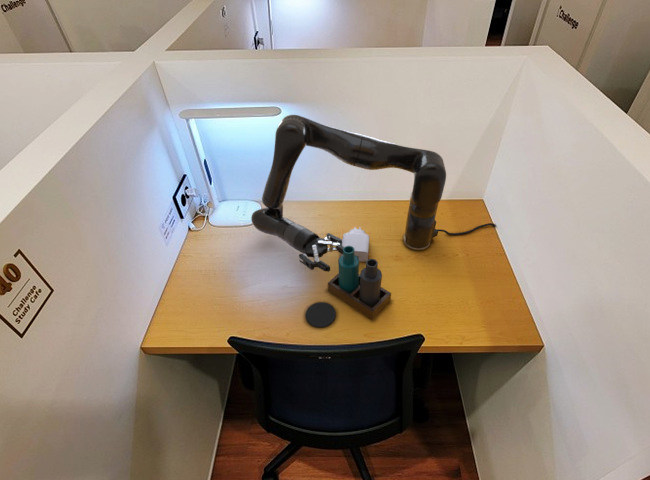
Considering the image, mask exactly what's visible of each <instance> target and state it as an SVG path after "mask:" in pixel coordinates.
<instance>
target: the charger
mask: <svg viewBox="0 0 650 480" xmlns="http://www.w3.org/2000/svg"><path fill="white" fill-rule="evenodd" d="M361 228H362V227H360V226H359V228H357V227H356V226H354V228H352V229H350V230H349V231H348V232H344V233H343V235H342V238H341V239H342V246H343V247H346V246H352V247H353V248H354V255H355V256H357V257H358V258H359V262H360V263H361V262H362V263H366V261H367V260H369V250H370V235H369V234H368V233H366V231H365V230H363V229H361ZM342 255H343V254H341V253H340V257H341V256H342Z"/></svg>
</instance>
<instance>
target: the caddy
mask: <svg viewBox="0 0 650 480" xmlns="http://www.w3.org/2000/svg"><path fill="white" fill-rule="evenodd" d="M327 291H328V292H329V293H330V294H332V295H333V296H335V297H336V298H338V299H339V300H341V301H342V302H344V303H345V304H347V305H348V306H350V307H351V308H353V309H354V310H356V311H357V312H359V313H360V314H362V315H364V316H365V317H366V318H368V319H370V320H371V321H373V320H374V319H375V318H376V317H377V315H379V314H380V312H381V311H383V309H385V307H387V305H388V304H389V303H390V302H391V297H392V292H390V291H388V290H387V289H385V288H384V287H382V286H381V290H380V300H379V302H378V303H377V304H376V305H375V306H374V307H373V308H371V307H369V306H368V305H366V304H365V303H363V302H362V301H360V300H359V295H360V273H359V283H358V287H357V288H356V289H355V290H354V291H353V292H352V293H351V294H349V293H348V292H346V291H345V290H343V289H342V288H340V287H339V272H338V273H337V274H336V275H335V276H334V277H333V278H331V279H330V280H329V281H328V282H327Z"/></svg>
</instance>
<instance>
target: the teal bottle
mask: <svg viewBox="0 0 650 480" xmlns="http://www.w3.org/2000/svg"><path fill="white" fill-rule="evenodd" d="M337 263H338V268H337V269H338V273H339V285H338V287H340V288H342V289H343V290H345V291H346V292H348V293H349V294H351V293H352V292H353V291H354V290H355V289H356V288H357V287H358V286H359V285H358V283H359V274H360V261H359V258H358V257H357V256H355V255H354V248H353V247H352V246H346V247H344V248H343V255H342V256H341V255H340V256H339V258H338V262H337Z"/></svg>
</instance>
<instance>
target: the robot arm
mask: <svg viewBox="0 0 650 480" xmlns="http://www.w3.org/2000/svg"><path fill="white" fill-rule="evenodd" d="M274 136H275V137H274V150H273V158H272V164H271V167H270V171H269V173H268V176H267V179H266V182H265V185H264V189H263V193H262V196H261V202H262V204H263V205H264V206H265V207H263V208H259V209H257V210H255V211H254V212H253V213H251V218H250V220H251V224H252V225H253V227H254V228H255V229H256V230H258V231H259V232H261V233H264V234H267V235H269V236H274V237H277V238H279V239H280V240H282V241H284V242H285V243H286V244H288V245H289V246H290V247H292V248H293V249H295V250H296V251H298V252H299V254H298V259H299V262H300V264H302V265H304V266H305V267H307V268H308V269H309V270H310V271H313V270H314V269H315V268H318V269H320V270H322V271H323V272H327V273H329V272H331V266H330V265H329V264H328V263H326V262H324V261H323V260H320V258H322V257H323V256H324V255H326V254H327V253H332V252H338V253H339V254H340V255H341V254H343V248H344V247H343V246H342V239H343V238H340V237H338V236H336V235H334V234H331V232H328V233H326V236H325V237H320V236H319V234H317V233H315V231H312V230H310V229H309V228H307V227H305V226H303V225H301V224H299V223H297V222H295V221H293V220H291V219H290V218H287V217H284V202H285V200H286V199H285V198H286V195H287V192H288V189H289V186H290V181H291V176H292V173H293V170H294V167H295V166H296V163H297V162H298V159H299V158H300V156H301V154H302V153H303V151H304V149H305V148H306V147H310V148H315V149H318V150H322V151H325V152H327V153H328V154H330V155H331V156H333V157H335V158H336V159H338V160H339V161H341V162H342V163H344V164H346V165H349V166H352V167H355V168H359V169H363V170H368V171H377V170H384V169H386V170H387V169H399V170H402V171H406V172H409V173H412V174H413V186H412V192H411V193H410V196H409V202H408V209H407V215H406V216H407V217H406V221H405V222H406V223H405V230H404V233H403V244H404V245H405V246H406V247H407V248H408V249H410V250H412V251H425V250H426V249H428V248H429V246H430V245H431V243H433V240H434V238H436V237H438V235H439V232H441V233H445V234H446V235H449V236H461V235H466V234H469V233H472V232H474V231H475V230H478V229H480V228H484V227H488V226H492V227H497V225H496V224H495V223H492V222H488V223H485V224H481V225H478V226H476V227H474V228H472V229H469V230H466V231H463V232H449V231H447V230H445V229H436V225H437V220H436V216H437V212H438V208H439V207H438V206H439V204H440V201H441V200H442V197H443V193H444V189H445V186H446V181H447V171H446V170H447V169H446V165H445V162H444V159H443V157H442V156H441V155H440V154H439V153H438V152H436V151H433V150H428V149H422V148H415V147H410V146H403V145H400V144H396V143H393V142H390V141H385V140H381V139H378V138H376V137H371V136H368V135H365V134H361V133H356V132H351V131H348V130H344V129H340V128H337V127H332V126H329V125H325V124H323V123H320V122H317V121H315V120H312V119H310V118H307V117H305V116H302V115H298V114H288V115H285V116H284V117H283V118H282V119H281V120H280V122H279V124H278V126H277V128H276V130H275V135H274ZM310 258H313V260H311V259H310Z"/></svg>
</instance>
